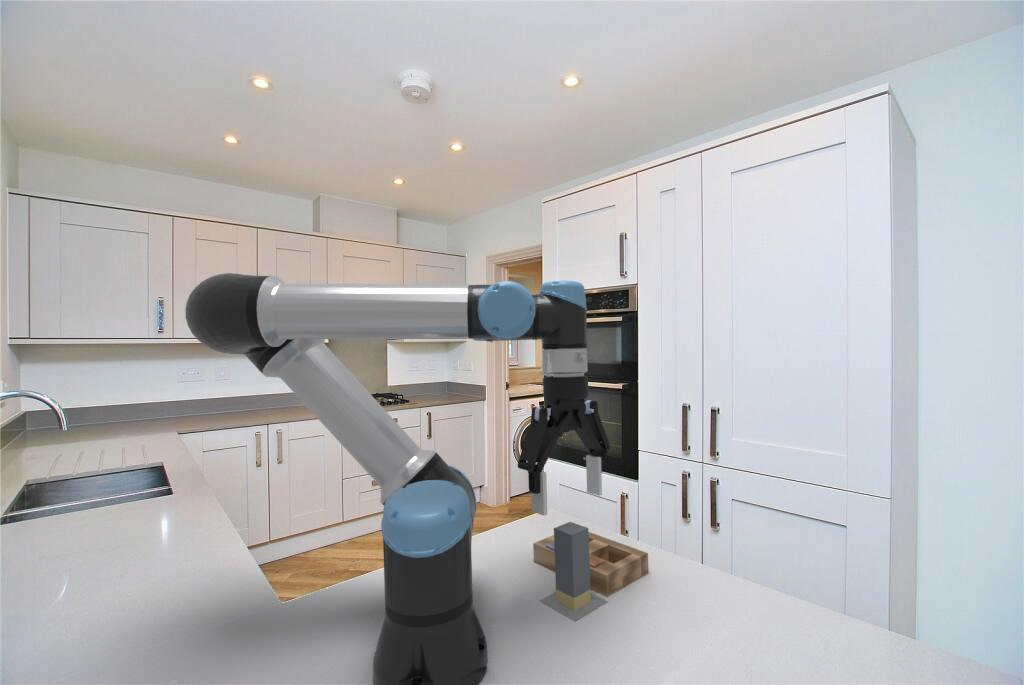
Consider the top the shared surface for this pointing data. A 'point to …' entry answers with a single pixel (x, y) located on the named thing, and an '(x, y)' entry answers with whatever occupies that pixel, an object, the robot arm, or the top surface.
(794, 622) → the top surface
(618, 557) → the socket board
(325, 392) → the robot arm
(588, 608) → the mat
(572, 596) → the plug
